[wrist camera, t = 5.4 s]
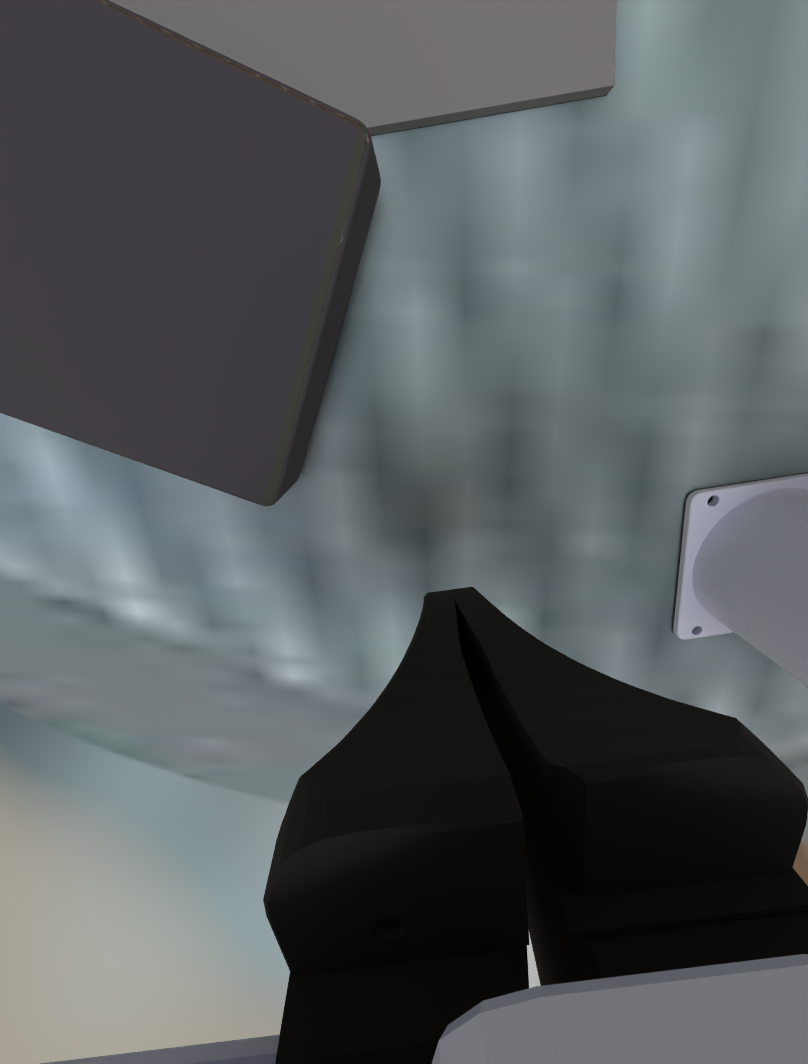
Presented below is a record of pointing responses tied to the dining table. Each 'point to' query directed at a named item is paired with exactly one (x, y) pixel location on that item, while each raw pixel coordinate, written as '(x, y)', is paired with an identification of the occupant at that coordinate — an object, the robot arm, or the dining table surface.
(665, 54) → the dining table surface
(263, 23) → the mat
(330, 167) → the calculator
